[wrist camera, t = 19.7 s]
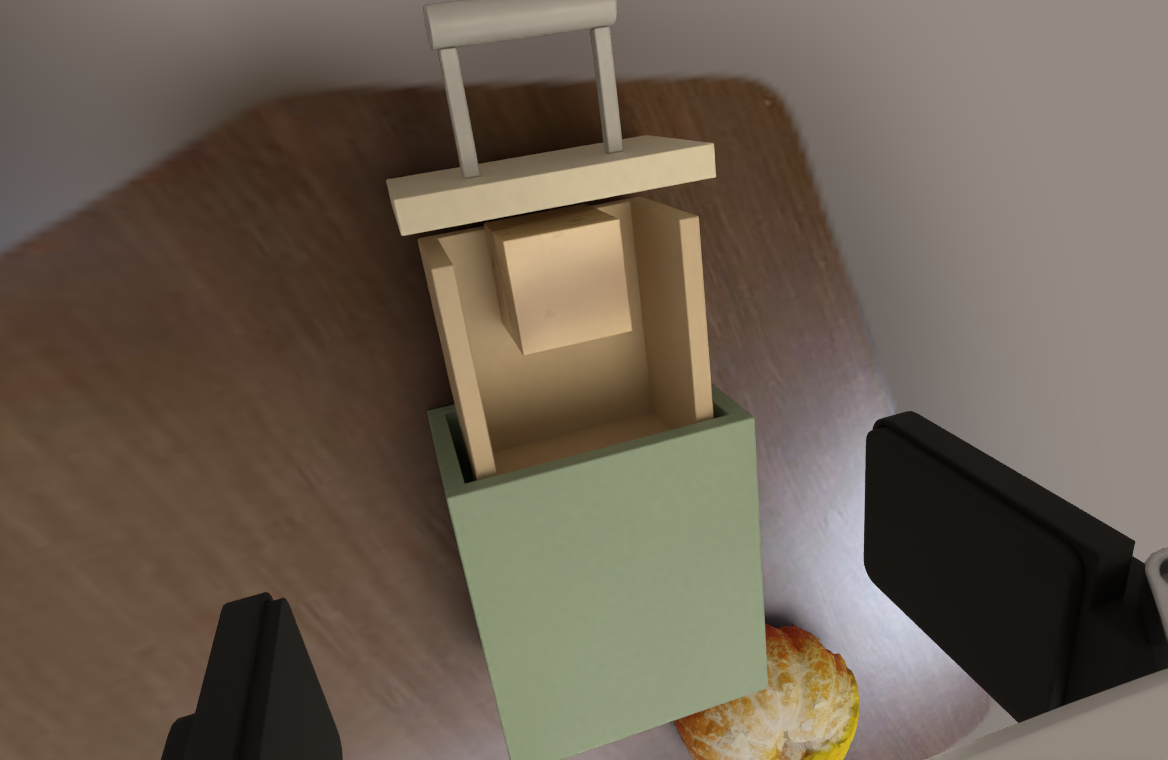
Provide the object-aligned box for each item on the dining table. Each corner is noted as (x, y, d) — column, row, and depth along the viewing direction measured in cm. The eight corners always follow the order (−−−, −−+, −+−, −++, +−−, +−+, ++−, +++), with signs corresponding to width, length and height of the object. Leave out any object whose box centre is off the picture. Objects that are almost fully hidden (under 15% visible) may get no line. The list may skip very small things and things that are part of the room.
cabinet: (426, 410, 35) (446, 498, 27) (673, 351, 37) (755, 417, 30) (484, 648, 41) (514, 777, 33) (695, 583, 43) (768, 688, 35)
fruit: (833, 585, 46) (914, 704, 40) (794, 677, 52) (859, 792, 46) (667, 624, 43) (727, 760, 37) (646, 717, 49) (695, 846, 43)
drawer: (349, 26, 28) (347, 5, 22) (632, -10, 30) (702, -39, 24) (453, 466, 35) (473, 543, 29) (673, 410, 38) (735, 470, 32)
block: (483, 222, 31) (502, 241, 27) (586, 203, 32) (619, 218, 28) (502, 324, 32) (523, 356, 28) (599, 303, 33) (633, 331, 29)
